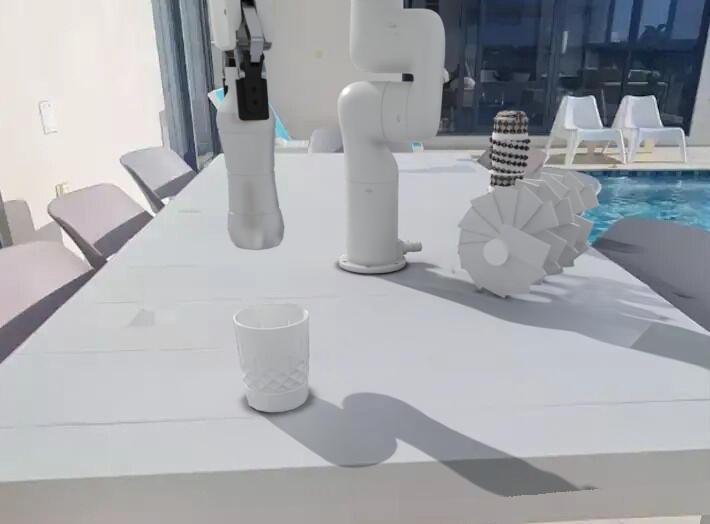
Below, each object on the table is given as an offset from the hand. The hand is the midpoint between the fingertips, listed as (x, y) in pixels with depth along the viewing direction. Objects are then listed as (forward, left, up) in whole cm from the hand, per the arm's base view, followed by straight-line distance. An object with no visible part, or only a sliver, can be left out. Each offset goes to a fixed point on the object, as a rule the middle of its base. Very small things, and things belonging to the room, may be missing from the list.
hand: (246, 116), depth 71 cm
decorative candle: (-70, -52, -29) cm, 92 cm away
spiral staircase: (-48, -12, -29) cm, 57 cm away
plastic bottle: (0, 0, -15) cm, 15 cm away
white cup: (+2, +13, -29) cm, 32 cm away
